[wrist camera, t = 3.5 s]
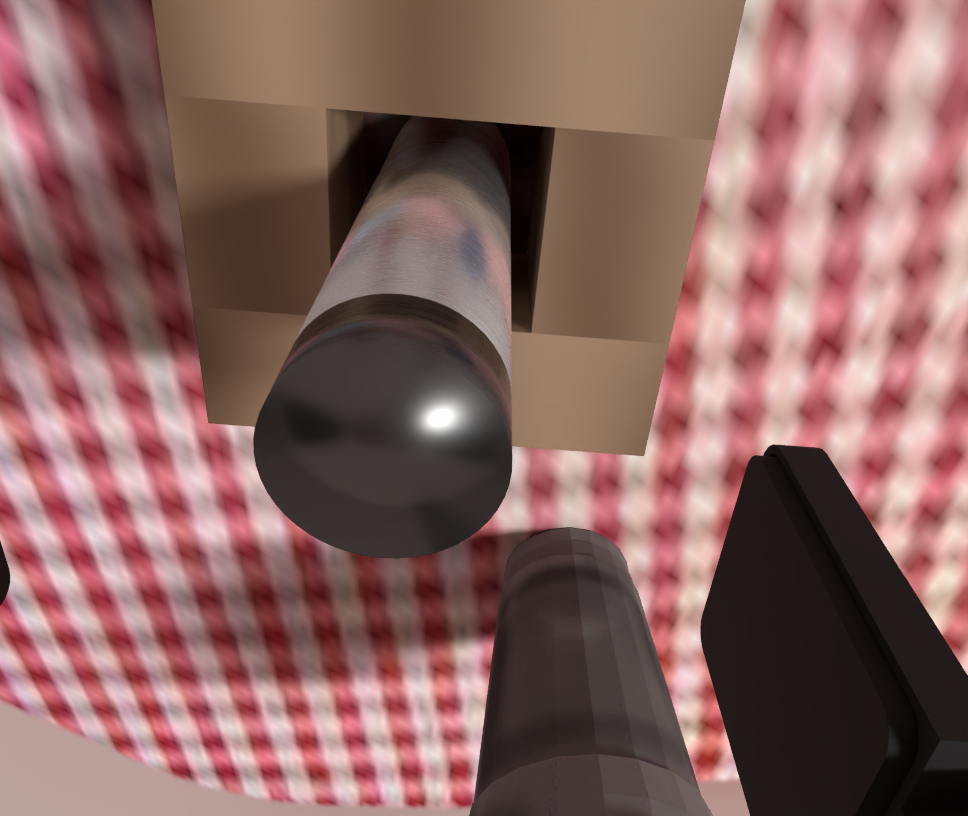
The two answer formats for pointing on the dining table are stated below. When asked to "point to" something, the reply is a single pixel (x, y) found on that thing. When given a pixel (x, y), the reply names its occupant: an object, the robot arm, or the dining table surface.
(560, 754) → the beverage cup
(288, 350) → the block
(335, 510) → the pin
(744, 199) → the dining table surface
